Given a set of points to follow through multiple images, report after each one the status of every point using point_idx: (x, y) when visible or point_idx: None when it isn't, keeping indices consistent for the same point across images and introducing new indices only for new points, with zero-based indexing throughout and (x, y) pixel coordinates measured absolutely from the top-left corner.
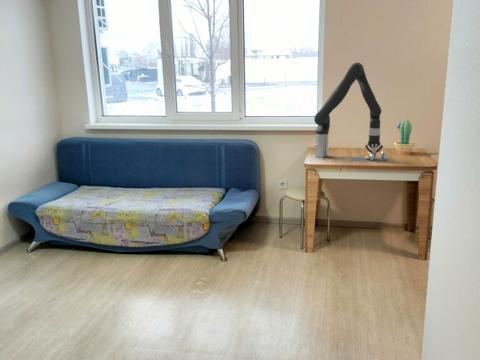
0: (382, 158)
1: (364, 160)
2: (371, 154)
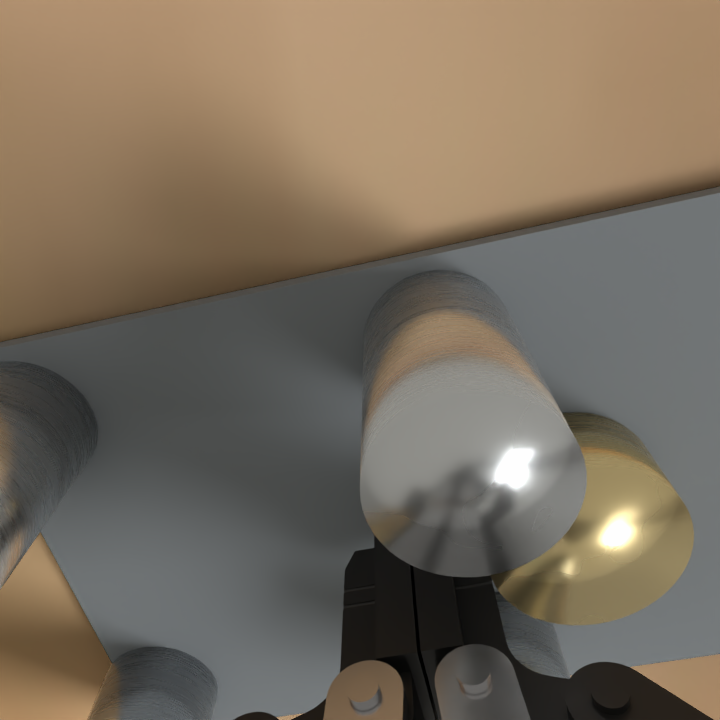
0: (174, 651)
1: (699, 312)
2: (516, 386)
